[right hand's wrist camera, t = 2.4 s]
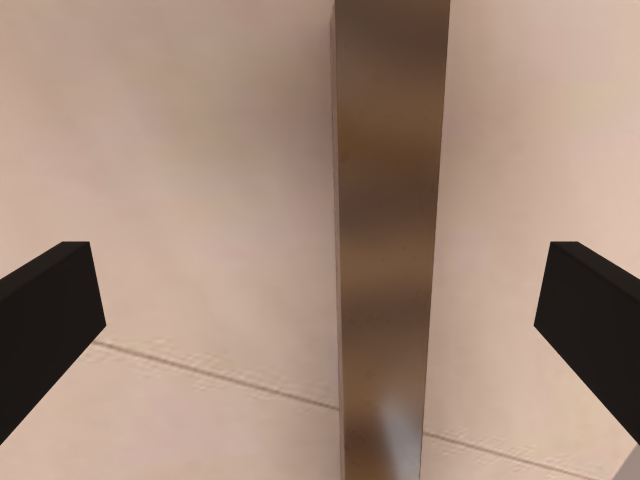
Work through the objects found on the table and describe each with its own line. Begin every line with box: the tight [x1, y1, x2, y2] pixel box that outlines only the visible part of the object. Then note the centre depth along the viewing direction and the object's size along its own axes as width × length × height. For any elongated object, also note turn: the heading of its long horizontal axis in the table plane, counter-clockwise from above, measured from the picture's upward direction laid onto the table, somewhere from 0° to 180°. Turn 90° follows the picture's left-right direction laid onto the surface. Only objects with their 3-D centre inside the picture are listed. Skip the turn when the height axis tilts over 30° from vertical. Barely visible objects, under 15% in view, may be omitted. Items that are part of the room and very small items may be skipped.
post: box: [330, 0, 450, 480], centre depth 31 cm, size 50×5×8 cm, turn 2°
